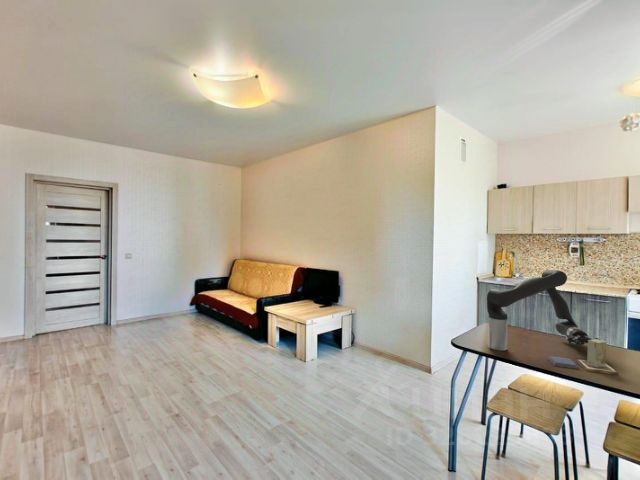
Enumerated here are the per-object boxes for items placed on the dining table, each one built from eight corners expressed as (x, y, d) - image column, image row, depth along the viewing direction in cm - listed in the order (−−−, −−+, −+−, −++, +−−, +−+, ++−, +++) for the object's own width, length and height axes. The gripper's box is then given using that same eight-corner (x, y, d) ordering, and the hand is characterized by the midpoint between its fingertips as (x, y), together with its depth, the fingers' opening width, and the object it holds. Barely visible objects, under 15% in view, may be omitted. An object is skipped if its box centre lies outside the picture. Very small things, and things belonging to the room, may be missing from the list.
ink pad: (553, 365, 153) (553, 362, 153) (547, 358, 162) (547, 355, 162) (578, 369, 149) (578, 366, 149) (570, 361, 159) (571, 358, 159)
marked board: (586, 370, 148) (586, 368, 148) (576, 361, 159) (576, 358, 159) (618, 375, 143) (618, 372, 143) (605, 365, 154) (606, 362, 154)
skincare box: (596, 368, 148) (597, 342, 148) (586, 364, 152) (587, 339, 152) (606, 366, 150) (606, 341, 150) (596, 363, 154) (596, 338, 154)
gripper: (561, 327, 176) (572, 335, 161) (593, 330, 170) (607, 339, 155) (561, 340, 176) (572, 350, 161) (593, 343, 170) (607, 354, 155)
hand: (589, 345), depth 158 cm, fingers open, 8 cm apart
